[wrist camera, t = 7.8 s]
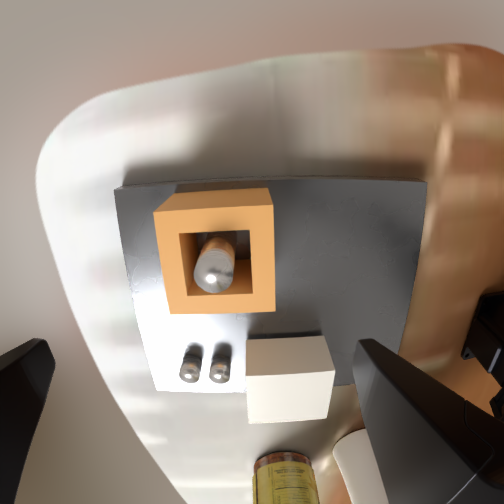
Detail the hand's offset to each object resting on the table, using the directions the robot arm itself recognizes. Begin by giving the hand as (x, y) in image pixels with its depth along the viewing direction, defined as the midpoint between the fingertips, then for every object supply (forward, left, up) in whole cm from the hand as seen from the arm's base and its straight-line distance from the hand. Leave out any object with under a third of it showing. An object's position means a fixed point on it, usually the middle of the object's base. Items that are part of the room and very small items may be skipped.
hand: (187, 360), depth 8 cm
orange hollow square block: (0, 0, -10) cm, 10 cm away
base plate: (-3, +5, -12) cm, 13 cm away
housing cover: (-4, +9, -10) cm, 14 cm away
